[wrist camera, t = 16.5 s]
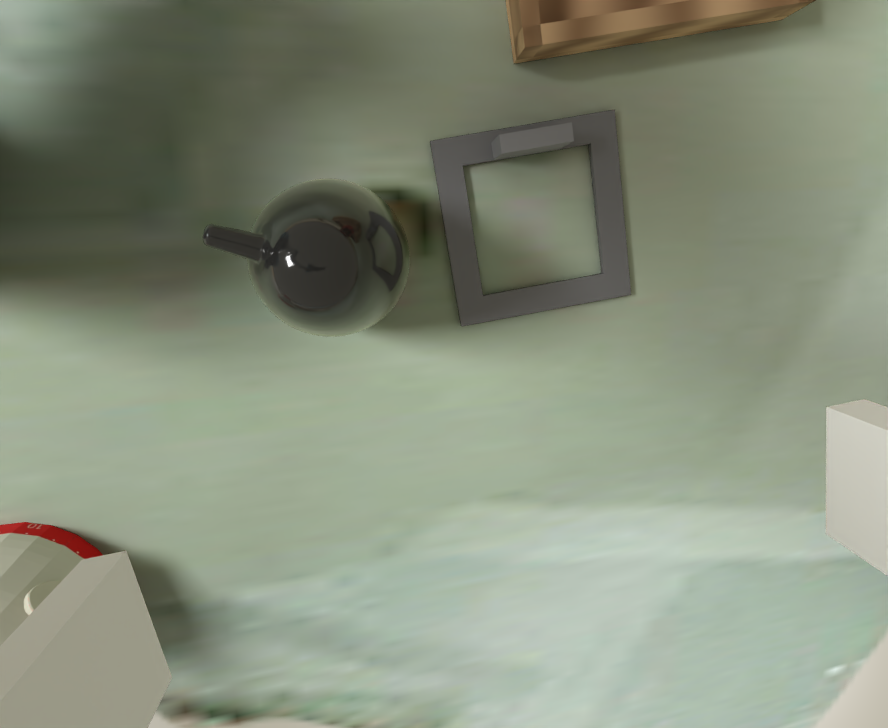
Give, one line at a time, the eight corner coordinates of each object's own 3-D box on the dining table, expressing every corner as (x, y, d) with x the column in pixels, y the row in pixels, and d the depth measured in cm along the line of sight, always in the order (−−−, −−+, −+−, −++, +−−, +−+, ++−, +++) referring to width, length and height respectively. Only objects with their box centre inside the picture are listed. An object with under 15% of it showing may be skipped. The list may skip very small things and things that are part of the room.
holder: (460, 325, 42) (466, 332, 39) (430, 142, 39) (433, 132, 35) (628, 293, 43) (648, 298, 39) (611, 111, 39) (632, 99, 36)
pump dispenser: (285, 164, 38) (217, 117, 23) (424, 211, 40) (443, 194, 25) (252, 301, 40) (170, 338, 25) (386, 340, 42) (382, 396, 27)
